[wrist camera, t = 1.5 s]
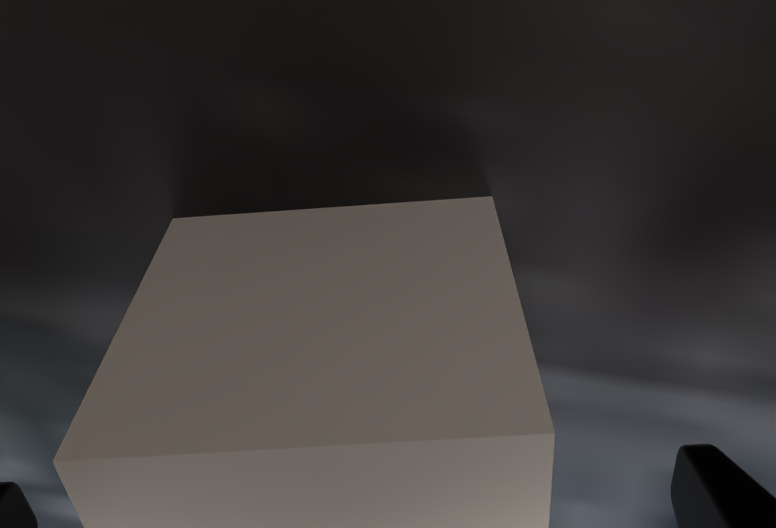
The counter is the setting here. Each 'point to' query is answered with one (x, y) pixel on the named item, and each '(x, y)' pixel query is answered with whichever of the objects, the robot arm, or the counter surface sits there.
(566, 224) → the counter surface
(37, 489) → the counter surface
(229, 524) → the limestone block
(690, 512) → the robot arm
